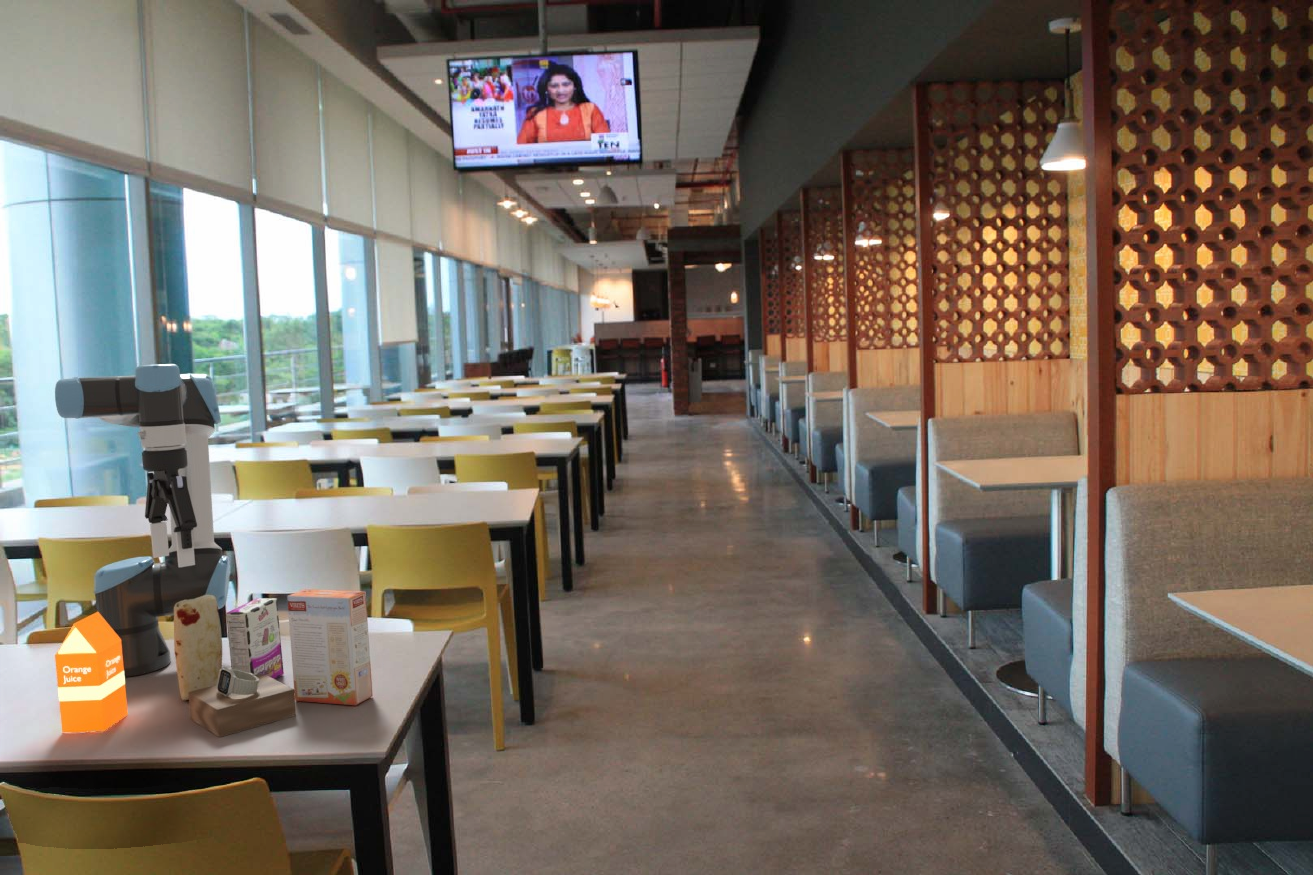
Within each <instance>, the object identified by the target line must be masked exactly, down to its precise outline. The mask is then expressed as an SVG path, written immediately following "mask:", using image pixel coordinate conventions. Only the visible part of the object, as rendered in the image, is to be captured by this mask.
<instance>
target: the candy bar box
mask: <svg viewBox="0 0 1313 875" xmlns="http://www.w3.org/2000/svg"><path fill="white" fill-rule="evenodd" d="M278 608H279V607H278V598H275V597H273V598H271V597H264V598H263V597H260V598H259V597H258V598H255V599H253V600H251V601H249V602H246V603H243V604H242V605H239V606H238V607H236V608H233V609H231V610H230V611H229V610H228V611H227V612H225V615H226V616H225V617H226V626H227V637H228V647H229V657H230V659H229V660H230V665H231V666H230V669H233V670H239V671H243V672H246V673H252V674H254V675H258V674H262V673H263V674H265V675H267V676H269V677H271V678H273V679H275V680H277V679H279V678H280V677H282V676H283V675H285V673H284V662H283V651H282V642H281V641H282V640H281V631H280V630H281V628H280V619H279V609H278Z"/></svg>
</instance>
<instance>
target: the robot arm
mask: <svg viewBox="0 0 1313 875" xmlns="http://www.w3.org/2000/svg"><path fill="white" fill-rule="evenodd" d="M179 367H180V366H178V365H177V364H175V363H165V364H164V363H163V364H145V365H144V364H143V365H141V364H140V365H138V366H137V367H136V368H135V372H134V373H135V374H134V375H133V374H131V375H119V376H93V377H90V376H89V377H75V376H74V377H72V378H71V377H70V378H61V379H59V380H58V381H56V383H55V388H54V398H55V399H54V400H55V407H56V411H57V413H58V415H59V417H61V418H63V419H86V418H99V419H100V420H101V421H103V422H105V423H108V424H111V425H118V426H123V427H124V426H125V427H131V428H139V430H140V431H139V432H137V437H139V438H140V443H141V444H140V445H141V447H142V448H143V449H145V450H142V452H141V459H142V469H143V470H144V471H146V472H147V474H146V477H147V478H146V480H147V486H146V488H147V489H146V498H145V499H146V500H145V509H144V510H145V511H144V517H145V519H147V520H148V522H149V525H150V539H151V549H152V550H151V551H152V556H147V555H146V556H136V557H132V558H127V559H123V560H119V561H115V562H113V563H109V564H106V565H104V566H102V567H100V568H99V569H97V571H95V574H94V576H93V580H94V583H93V584H94V590H93V593H94V596H95V606H96V607H95V608H96V612H99V613H100V615H101V616H102V617H103V618H104V619H105V621H106V622H107V623H108V624H109V625H110V627H111V628H112V629H113V630H114V632H115V633H116V634H117V635H118V636H119V638H120V639H121V645H122V656H123V667H124V675H125V678H128V677H134V676H140V675H145V674H148V673H152V672H155V671H158V670H161V669H163V668H165V667H167V666H168V665H169V664H170V663H171V662H172V661H171V660H172V659H171V651H170V648H169V646H168V644H167V641H166V640H165V638H164V636H163V633H162V632H161V630H160V624H159V617H168V616H174V606H175V604H176V603H178V602H179V601H183V600H190V599H195V598H198V597H201V596H204V595H213V596H215V598H216V601H217V606H218V610H221V609H222V608H224V606H225V605H226V603H227V600H228V596H229V595H228V594H229V588H230V587H229V584H230V571H231V570H230V565H231V564H230V563H231V562H230V557H229V556H227V555H223V549H222V547H221V546H219V545H218V544H217V543H216V542H215V535H214V534H215V533H214V519H213V518H214V517H213V502H212V486H211V485H212V484H211V465H210V451H209V450H210V449H209V439H210V437H211V436H212V435H213V434H214V433H215V432H216V431H215V430H216V428H215V425H218V424H220V423H221V422H222V419H221V413H220V407H219V403H218V399H217V394H216V390H215V385H214V381H213V378H212V377H211V376H210V375H209V374H206V373H190V372H188V373H181V372H180V368H179ZM167 507H168V508H169V515H170V532H171V533H170V534H171V535H170V536H171V546H170V547H169V540H168V529H167V528H168V527H167V522H168V521H169V519H168V518H167V515H166V512H167ZM163 557H164V561H163V562H155V558H163Z"/></svg>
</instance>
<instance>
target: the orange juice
mask: <svg viewBox="0 0 1313 875" xmlns="http://www.w3.org/2000/svg"><path fill="white" fill-rule="evenodd" d="M72 624H73V625H72V627H71V629H70V630H69V631H68V633H67V635H66V636H65V639H64V640H63V642H62V643H61V645H60V647H59V648H58V650H57V652H56V653H55V655H54V662H55V670H56V679H57V694H58V702H59V710H60V711H59V713H60V722H61V732H87V731H88V732H90V731H105V730H106V729H107V728H109V727H110V726H111V727H113V726H114V725H115V724H114V723H116V724H117V723H119V720H120V721H122V720H123V719H124V718H126V716H128V715H129V713H128V701H127V693H126V692H127V690H126V677H125V675H124V667H123V656H122V645H121V639H120V638H119V636H118V635H117V634H116V633H115V632H114V630H113V629H112V628H111V627H110V625H109V624H108V623H107V622H106V621H105V619H104V618H103V617H102V616H101V615H100V613H99V612H97V611H96V612H94V613H92V614H90V615H88V616H86V617H84V618H83V619H81V620H80V619H79V621H76V622H74V623H72ZM113 724H114V725H113ZM112 725H113V726H112ZM111 727H110V728H111ZM110 728H109V729H110ZM107 730H108V729H107ZM107 730H106V731H107ZM106 731H105V732H106ZM90 733H91V732H90Z"/></svg>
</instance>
